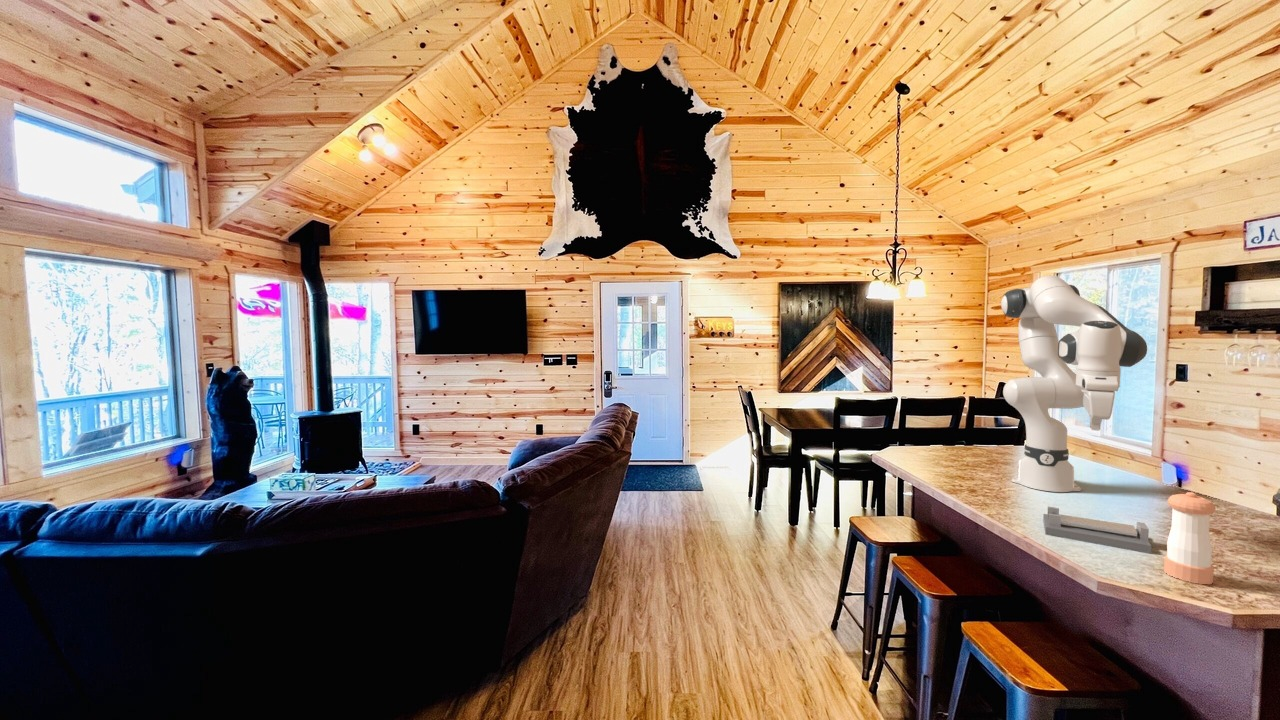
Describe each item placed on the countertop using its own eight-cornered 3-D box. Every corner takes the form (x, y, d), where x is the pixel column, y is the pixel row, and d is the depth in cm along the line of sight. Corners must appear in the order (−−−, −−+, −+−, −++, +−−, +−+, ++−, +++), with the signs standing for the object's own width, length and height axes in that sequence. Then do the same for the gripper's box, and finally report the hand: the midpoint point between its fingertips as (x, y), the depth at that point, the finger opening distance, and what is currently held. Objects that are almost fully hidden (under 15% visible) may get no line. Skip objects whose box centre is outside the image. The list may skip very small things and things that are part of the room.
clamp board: (1043, 520, 140) (1043, 503, 140) (1140, 537, 128) (1141, 518, 128) (1045, 534, 131) (1045, 516, 131) (1151, 553, 119) (1151, 533, 118)
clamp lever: (1049, 518, 137) (1049, 511, 137) (1133, 531, 126) (1133, 524, 126) (1050, 523, 133) (1050, 517, 133) (1137, 537, 122) (1137, 530, 122)
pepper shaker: (1162, 565, 113) (1165, 485, 112) (1210, 575, 108) (1214, 492, 107) (1165, 577, 107) (1168, 493, 106) (1215, 588, 102) (1219, 500, 101)
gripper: (1077, 375, 142) (1075, 421, 143) (1086, 384, 126) (1083, 435, 127) (1107, 376, 138) (1104, 423, 139) (1119, 385, 122) (1116, 438, 123)
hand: (1094, 429), depth 133 cm, fingers closed
